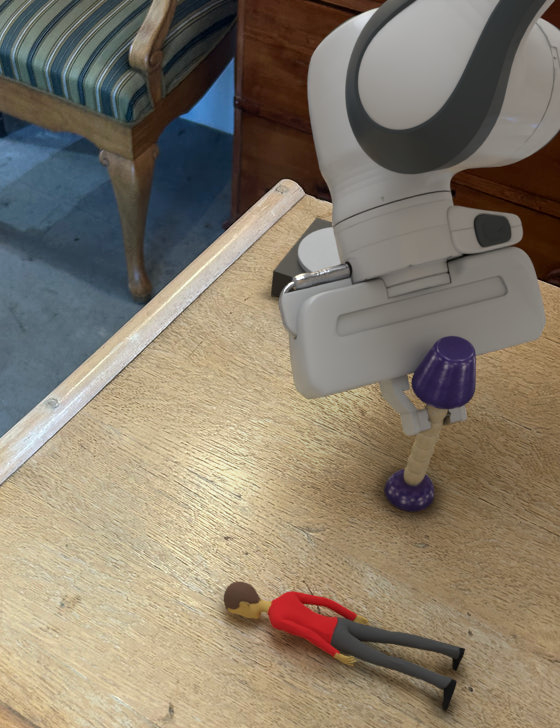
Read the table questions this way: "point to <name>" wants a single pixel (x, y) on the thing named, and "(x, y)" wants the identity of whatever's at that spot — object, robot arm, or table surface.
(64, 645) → the table surface
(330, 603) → the person figure
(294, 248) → the kitchen scale
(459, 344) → the toy lamp
